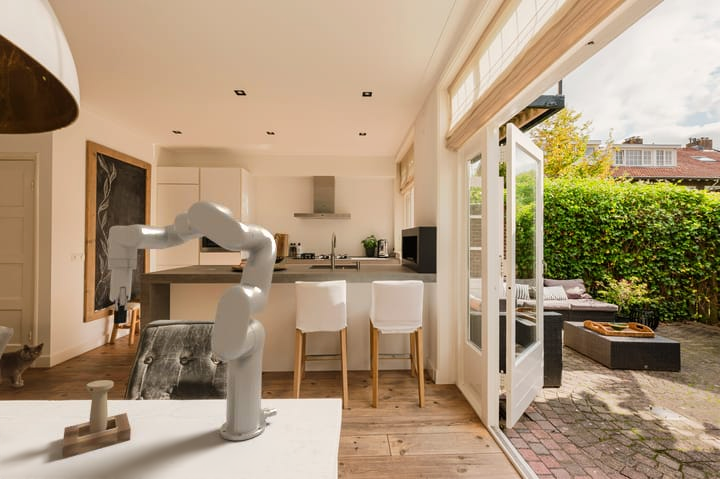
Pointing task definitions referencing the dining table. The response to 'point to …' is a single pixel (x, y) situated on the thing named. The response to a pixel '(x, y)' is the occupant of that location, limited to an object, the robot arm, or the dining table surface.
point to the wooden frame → (95, 436)
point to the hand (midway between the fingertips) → (120, 322)
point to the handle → (99, 405)
